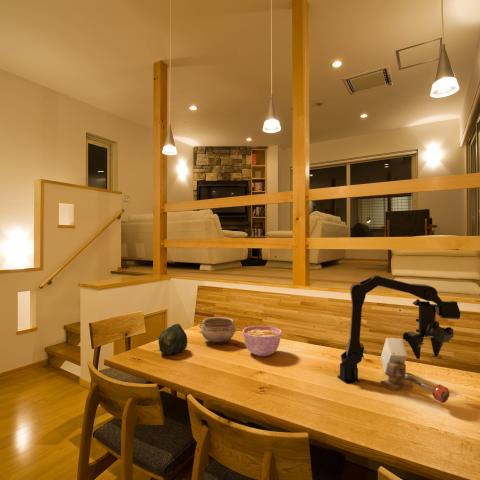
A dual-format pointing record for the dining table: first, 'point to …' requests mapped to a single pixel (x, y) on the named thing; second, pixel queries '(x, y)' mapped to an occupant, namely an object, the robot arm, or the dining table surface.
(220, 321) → the cooking pot
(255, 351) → the bowl of food
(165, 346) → the squash
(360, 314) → the robot arm
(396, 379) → the wall mount bracket
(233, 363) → the dining table surface
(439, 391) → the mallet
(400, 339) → the skincare box
